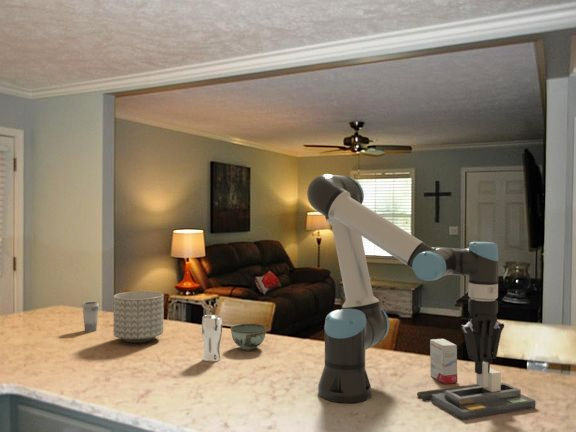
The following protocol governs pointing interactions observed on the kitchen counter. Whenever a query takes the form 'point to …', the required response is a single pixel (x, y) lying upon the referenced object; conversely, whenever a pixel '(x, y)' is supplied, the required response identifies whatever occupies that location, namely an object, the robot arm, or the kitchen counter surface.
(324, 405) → the kitchen counter surface
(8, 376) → the kitchen counter surface
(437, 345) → the ink box
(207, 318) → the beer glass
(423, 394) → the dark grey flat bar
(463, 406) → the grey tray
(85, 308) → the cup
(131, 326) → the planter
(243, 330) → the bowl
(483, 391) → the toggle
